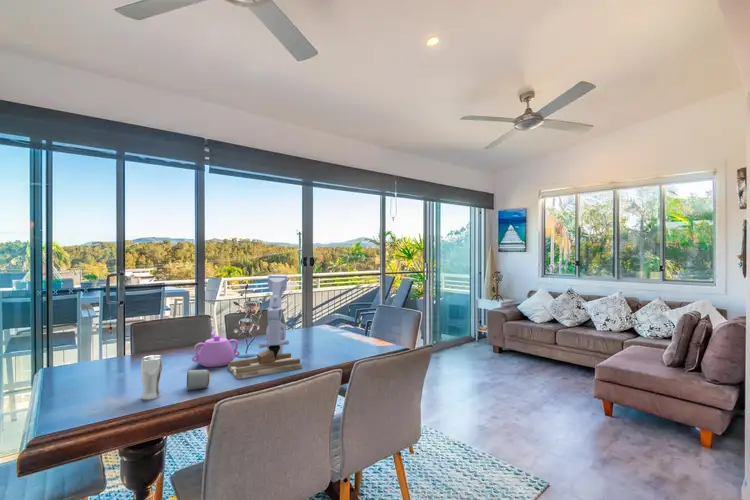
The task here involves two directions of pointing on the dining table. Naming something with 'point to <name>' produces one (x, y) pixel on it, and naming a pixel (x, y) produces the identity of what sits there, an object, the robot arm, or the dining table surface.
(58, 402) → the dining table surface
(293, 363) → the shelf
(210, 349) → the purple sugar bowl
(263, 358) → the walnut block
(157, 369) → the beer glass
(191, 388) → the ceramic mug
